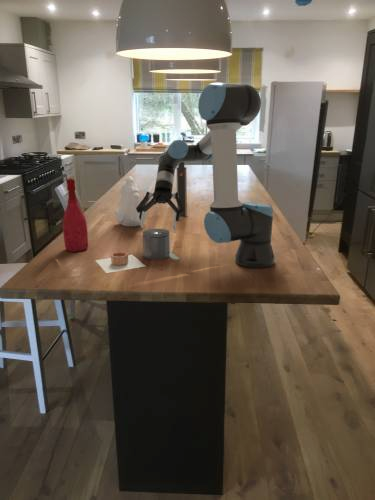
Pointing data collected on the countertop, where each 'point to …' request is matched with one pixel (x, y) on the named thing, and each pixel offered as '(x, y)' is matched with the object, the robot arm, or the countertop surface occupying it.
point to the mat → (173, 256)
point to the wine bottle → (74, 222)
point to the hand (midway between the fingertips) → (157, 227)
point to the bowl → (119, 258)
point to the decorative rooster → (129, 204)
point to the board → (110, 267)
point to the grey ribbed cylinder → (156, 244)
